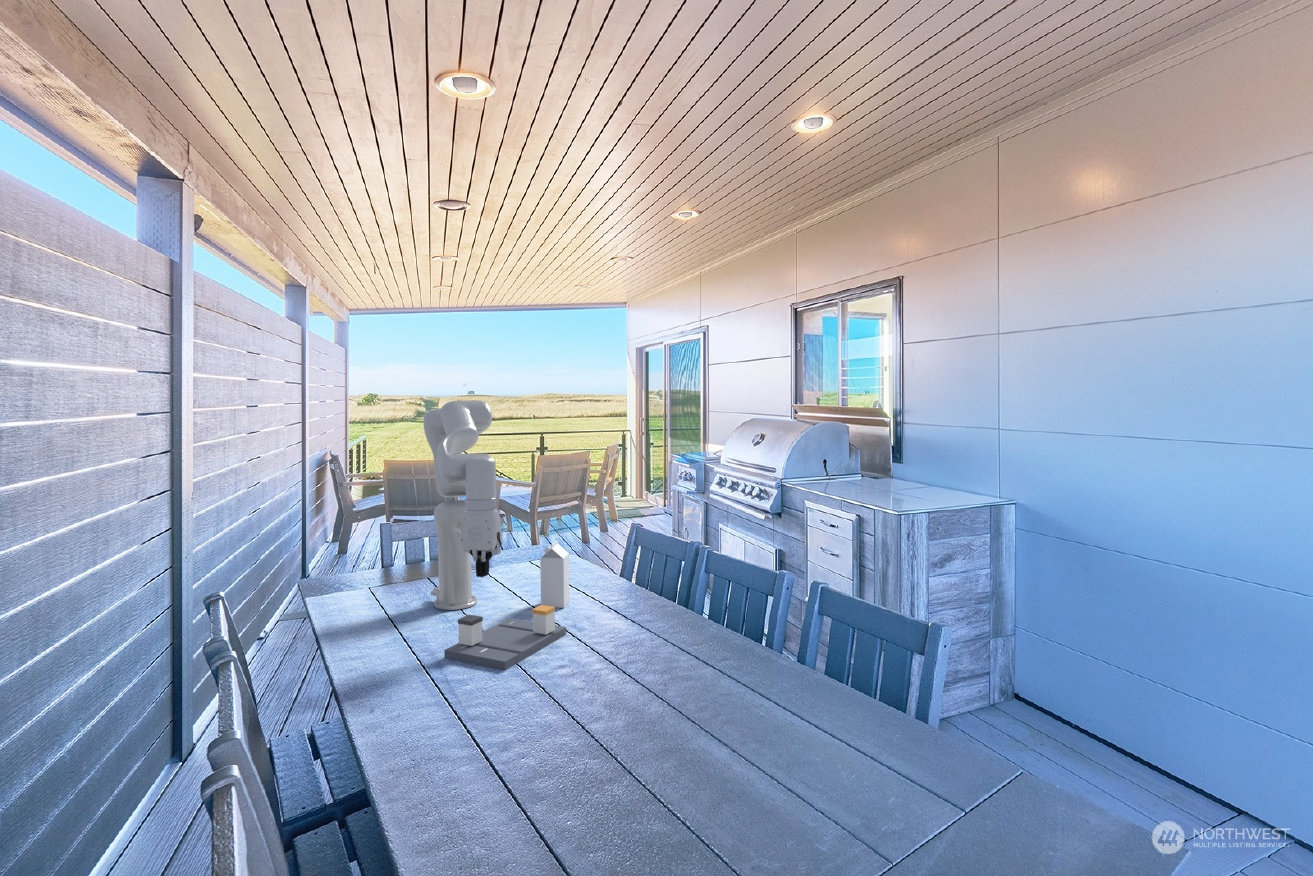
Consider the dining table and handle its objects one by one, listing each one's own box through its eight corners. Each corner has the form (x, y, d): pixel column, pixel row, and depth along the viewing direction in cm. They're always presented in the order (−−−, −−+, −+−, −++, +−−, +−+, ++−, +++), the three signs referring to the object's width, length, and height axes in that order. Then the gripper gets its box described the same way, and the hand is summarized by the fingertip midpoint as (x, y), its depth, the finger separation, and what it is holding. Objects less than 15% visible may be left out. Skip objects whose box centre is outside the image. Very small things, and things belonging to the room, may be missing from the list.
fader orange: (532, 632, 174) (532, 609, 174) (541, 627, 178) (541, 605, 178) (546, 634, 173) (545, 611, 172) (555, 629, 177) (555, 606, 176)
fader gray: (458, 643, 167) (457, 619, 166) (469, 638, 171) (469, 614, 170) (471, 646, 165) (471, 621, 165) (483, 640, 169) (482, 616, 169)
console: (444, 658, 164) (444, 649, 164) (510, 625, 187) (510, 617, 187) (505, 670, 156) (505, 661, 156) (566, 634, 180) (566, 626, 180)
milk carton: (569, 601, 209) (568, 540, 208) (564, 608, 202) (563, 545, 201) (547, 600, 210) (546, 540, 209) (540, 608, 203) (539, 545, 202)
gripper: (447, 505, 173) (449, 576, 174) (497, 509, 167) (498, 582, 168) (466, 501, 180) (467, 569, 181) (514, 504, 174) (515, 575, 175)
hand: (482, 575), depth 175 cm, fingers closed
